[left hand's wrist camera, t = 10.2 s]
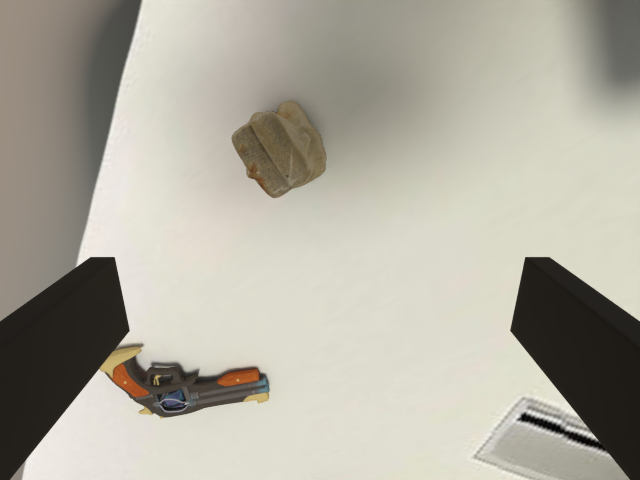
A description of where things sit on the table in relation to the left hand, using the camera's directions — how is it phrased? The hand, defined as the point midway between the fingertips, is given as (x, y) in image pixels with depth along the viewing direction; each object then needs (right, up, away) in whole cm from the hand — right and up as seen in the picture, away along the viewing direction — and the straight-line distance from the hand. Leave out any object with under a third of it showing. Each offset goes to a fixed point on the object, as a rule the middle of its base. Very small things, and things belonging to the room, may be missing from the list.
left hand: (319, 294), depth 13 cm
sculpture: (-2, +12, +25) cm, 28 cm away
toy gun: (-16, -15, +35) cm, 41 cm away
